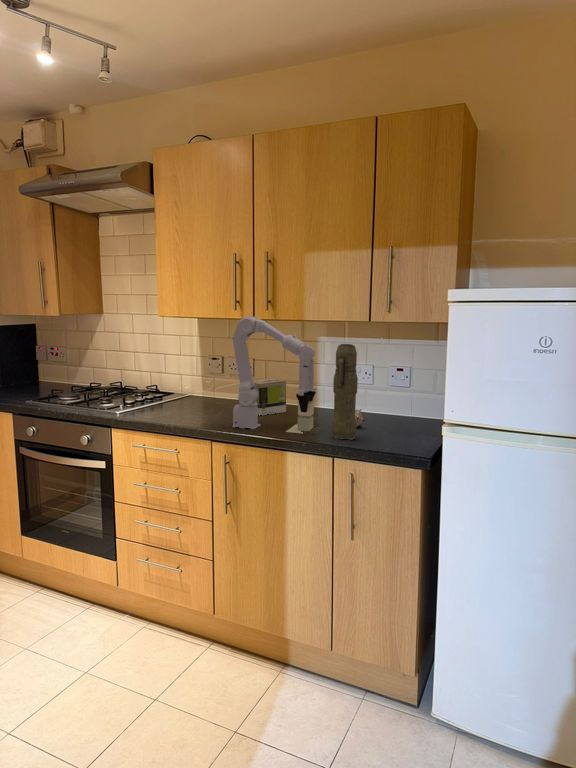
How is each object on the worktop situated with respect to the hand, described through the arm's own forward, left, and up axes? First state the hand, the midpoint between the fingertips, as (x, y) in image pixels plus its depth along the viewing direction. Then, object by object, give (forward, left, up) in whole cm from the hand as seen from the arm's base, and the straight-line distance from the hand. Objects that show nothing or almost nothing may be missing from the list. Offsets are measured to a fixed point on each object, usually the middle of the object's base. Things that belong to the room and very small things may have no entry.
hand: (305, 410), depth 211 cm
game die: (+17, +11, -8) cm, 22 cm away
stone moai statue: (+17, -7, -8) cm, 20 cm away
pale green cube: (0, 0, -7) cm, 7 cm away
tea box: (-26, +26, -8) cm, 38 cm away
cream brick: (0, 0, -2) cm, 2 cm away
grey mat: (0, 0, -8) cm, 8 cm away
